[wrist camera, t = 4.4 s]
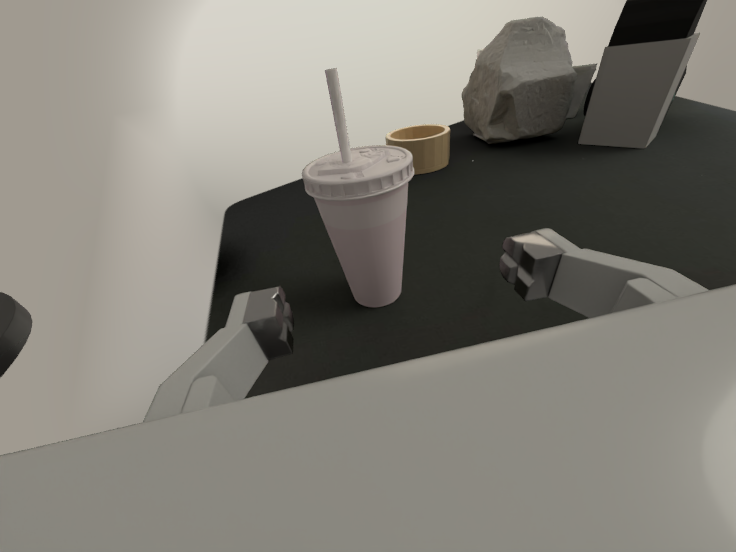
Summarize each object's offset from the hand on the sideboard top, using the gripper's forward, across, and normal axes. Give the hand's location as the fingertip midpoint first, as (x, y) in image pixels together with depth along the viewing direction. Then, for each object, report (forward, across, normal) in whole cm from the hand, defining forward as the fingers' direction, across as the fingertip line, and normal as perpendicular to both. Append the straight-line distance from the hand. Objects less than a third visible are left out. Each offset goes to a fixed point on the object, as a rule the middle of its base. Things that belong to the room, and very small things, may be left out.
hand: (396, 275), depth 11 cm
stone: (+40, -29, +8) cm, 50 cm away
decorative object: (+33, -43, +8) cm, 55 cm away
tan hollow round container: (+35, -12, +8) cm, 38 cm away
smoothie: (+9, 0, +8) cm, 12 cm away
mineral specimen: (+47, -43, +8) cm, 65 cm away
